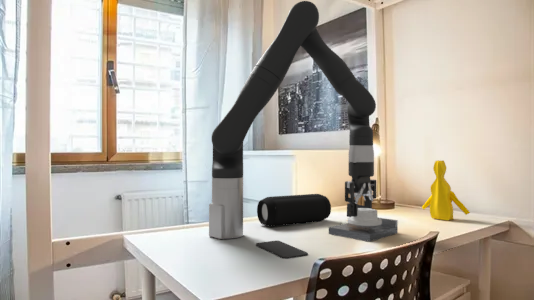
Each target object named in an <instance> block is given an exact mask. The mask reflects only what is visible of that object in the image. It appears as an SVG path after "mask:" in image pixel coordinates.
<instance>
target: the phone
mask: <svg viewBox="0 0 534 300" xmlns="http://www.w3.org/2000/svg"><path fill="white" fill-rule="evenodd" d="M255 246H256V247H257V248H259V249H262V250H264V251H266V252H268V253H270V254H271V255H274V256H276V257H278V258H281V259H283V260H284V259H286V260H288V259H295V258H301V257H307V256H308V255H309V253H308V252H307V251H304V250H303V249H299V248H298V247H296V246H295V247H294V246H293V245H291V244H289V243H285V242H284V241H281V240H270V241H269V240H268V241H261V242H256V244H255Z"/></svg>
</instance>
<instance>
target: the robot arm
mask: <svg viewBox="0 0 534 300" xmlns="http://www.w3.org/2000/svg"><path fill="white" fill-rule="evenodd" d="M319 20H320V13H319V9H318V7H317V6H316V4H314V3H313V2H312V1H309V0H301V1H299V2H297V3H295V4H294V5H293V6H292V7H291V8H290V9H289V11H288V14H287V17H286V18H285V21H284V23H283V25H282V26H281V28H280V30H279V32H278V34H277V36H276V37H275V39H273V41H272V42H271V44H269V46H268V48H267V49H266V50H265V52H264V53H263V54H262V56H261V57H260V58H259V59H258V62H257V63H255V66H254V67H253V68H252V71H250V73H249V75H248V77H247V79H246V80H245V82H244V84H243V86H242V88H241V89H240V91H239V94H238V96H237V98H236V100H235V101H234V104H233V105H232V107H231V108H230V110H229V111H228V112H227V113H226V114H225V116H224V117H223V119H222V120H221V121H220V122H219V123H218V124H217V126H216V127H215V128H214V129H213V131H212V134H211V143H212V165H211V203H209V204H208V236H209V237H211V238H216V239H219V240H225V239H237V238H241V237H243V236H244V141H245V138H246V136H247V134H248V132H249V131H250V128H251V127H252V124H253V122H254V121H255V119H256V118H257V116H258V115H259V114H260V113H261V112H262V111H263V109H264V108H265V107H266V105H267V104H268V103H269V102H270V100H271V99H272V98H273V96H274V95H275V94H276V92H277V91H278V89H279V87H280V86H281V84H282V83H283V81H284V80H285V78H286V76H287V74H288V71H289V69H290V68H291V65H292V63H293V60H294V58H295V56H296V54H297V52H298V50H300V48H303V50H304V52H306V53H307V54H308V55H309V57H310V58H311V59H312V60H313V61H314V63H315V64H316V65H317V67H318V68H319V69H320V71H321V72H322V73H323V75H324V77H326V79H327V81H328V82H329V83H330V85H331V87H333V89H334V91H335V92H336V93H337V94H338V95H340V96H342V97H343V98H344V99H345V100H346V102H347V103H348V105H347V110H346V114H347V122H348V123H347V124H348V128H349V134H348V135H349V137H348V138H349V140H348V141H349V144H348V145H349V149H348V176H350V177H351V181H350V180H349V181H348V180H347V181H344V202H347V203H348V202H349V203H350V216H353V217H356V216H357V211H358V204H357V203H358V200H359V198H360V197H361V195H363V197H364V200H365V201H364V208H371V209H373V201H374V200H375V199H377V180H376V179H371V177H373V176H375V151H374V132H373V128H372V127H371V126H370V124H371V123H370V116H371V115H373V114H374V113H375V111H376V108H377V107H376V105H377V104H376V99H375V98H374V96H373V95H372V94H371V92H370V91H369V90H368V89H367V88H366V87H365V86H364V85H363V84H362V83H361V82H360V81H359V80H358V79H357V78H356V76H355V74H353V72H352V70H351V69H350V67H349V66H348V65H347V64H346V61H344V60H343V59H342V58H341V56H339V54H337V53H336V52H335V51H333V49H331V48H330V47H329V46H328V45H327V44H326V42H325V41H324V40H323V38H322V37H321V35H320V33H319V31H318V29H317V27H318V25H319ZM354 192H355V193H354ZM348 194H350V197H349V198H348ZM354 197H355V199H354Z"/></svg>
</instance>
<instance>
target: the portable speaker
mask: <svg viewBox="0 0 534 300" xmlns="http://www.w3.org/2000/svg"><path fill="white" fill-rule="evenodd" d="M331 211H332V205H331V202H330V199H329V198H328V197H327V196H326V195H323V194H320V193H311V194H310V193H309V194H295V195H294V194H292V195H275V196H266V197H265V198H263V199H260V200H259V201H258V203H257V207H256V213H257V219H258V221H259V222H260V225H261V224H262V225H263V226H266V227H269V228H272V227H281V226H290V225H291V226H292V225H301V224H312V223H319V222H323V221H324V220H326V219H327V218H329V217H330V215H331V213H332V212H331Z"/></svg>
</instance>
